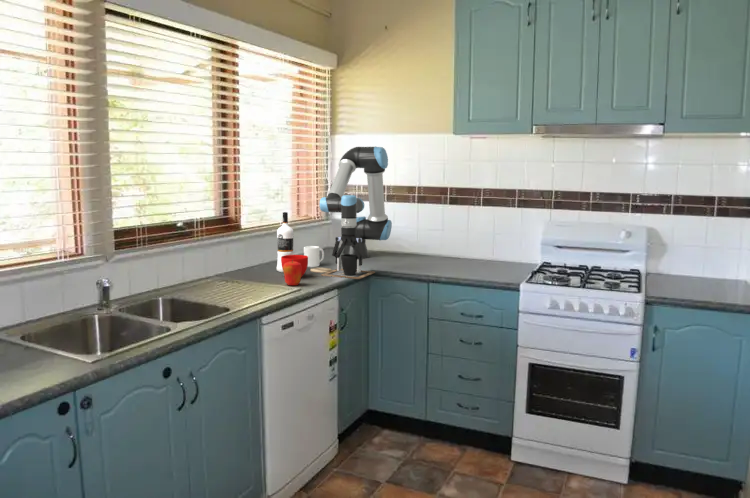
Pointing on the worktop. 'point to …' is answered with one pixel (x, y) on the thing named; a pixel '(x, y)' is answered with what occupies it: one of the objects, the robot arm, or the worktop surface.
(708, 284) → the worktop surface
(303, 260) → the ceramic cup
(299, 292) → the worktop surface
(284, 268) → the apple
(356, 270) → the brown wooden frame
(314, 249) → the cup
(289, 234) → the vodka
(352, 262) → the mug
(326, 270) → the coaster
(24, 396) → the worktop surface
